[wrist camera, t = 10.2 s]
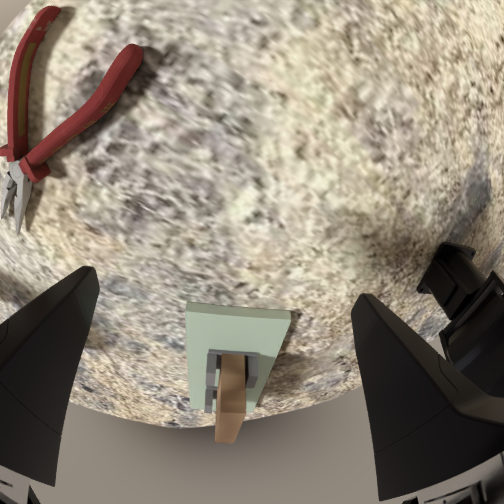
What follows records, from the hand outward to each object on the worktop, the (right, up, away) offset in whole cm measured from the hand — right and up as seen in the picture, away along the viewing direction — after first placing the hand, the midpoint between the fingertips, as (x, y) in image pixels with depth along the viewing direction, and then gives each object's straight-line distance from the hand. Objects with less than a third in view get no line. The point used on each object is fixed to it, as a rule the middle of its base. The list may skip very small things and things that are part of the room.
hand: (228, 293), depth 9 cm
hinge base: (-2, -14, +24) cm, 28 cm away
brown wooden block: (-2, -14, +23) cm, 27 cm away
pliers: (-17, +13, +6) cm, 22 cm away
